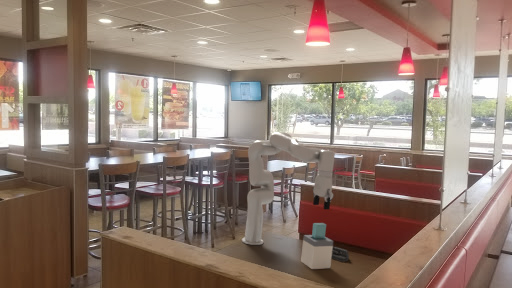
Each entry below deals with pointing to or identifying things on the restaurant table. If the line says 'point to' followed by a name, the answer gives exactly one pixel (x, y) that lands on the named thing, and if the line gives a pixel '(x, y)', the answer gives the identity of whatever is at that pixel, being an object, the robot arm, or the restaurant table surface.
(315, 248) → the white slotted box
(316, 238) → the teal block
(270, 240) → the restaurant table surface
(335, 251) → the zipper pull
